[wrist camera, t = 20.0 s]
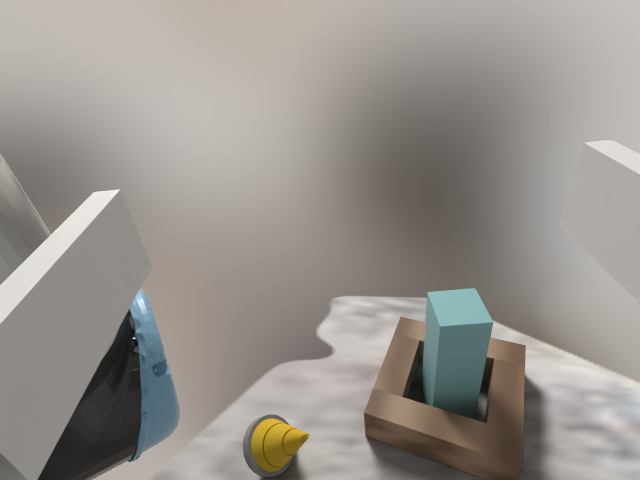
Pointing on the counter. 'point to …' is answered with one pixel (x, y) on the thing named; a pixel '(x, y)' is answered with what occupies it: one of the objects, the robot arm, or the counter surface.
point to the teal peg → (455, 350)
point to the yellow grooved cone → (271, 445)
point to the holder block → (446, 427)
